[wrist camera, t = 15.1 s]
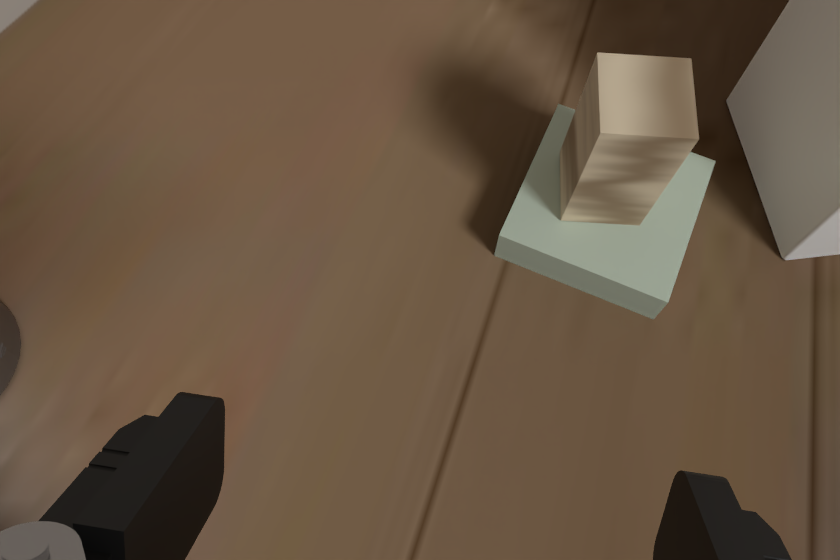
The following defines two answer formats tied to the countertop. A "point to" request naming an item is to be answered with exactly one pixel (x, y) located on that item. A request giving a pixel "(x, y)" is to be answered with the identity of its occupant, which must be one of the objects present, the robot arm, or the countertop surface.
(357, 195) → the countertop surface
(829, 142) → the gable box
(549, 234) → the base slab
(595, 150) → the maple block
